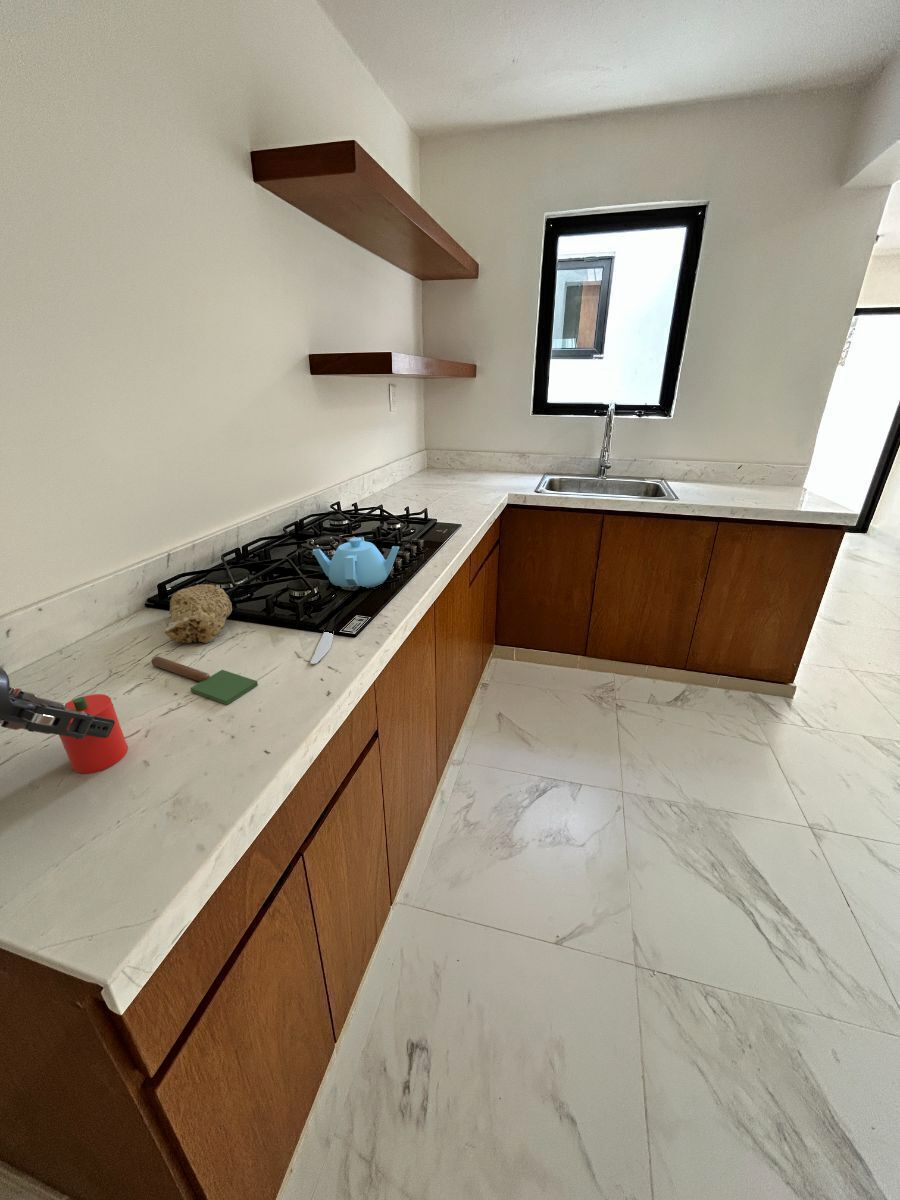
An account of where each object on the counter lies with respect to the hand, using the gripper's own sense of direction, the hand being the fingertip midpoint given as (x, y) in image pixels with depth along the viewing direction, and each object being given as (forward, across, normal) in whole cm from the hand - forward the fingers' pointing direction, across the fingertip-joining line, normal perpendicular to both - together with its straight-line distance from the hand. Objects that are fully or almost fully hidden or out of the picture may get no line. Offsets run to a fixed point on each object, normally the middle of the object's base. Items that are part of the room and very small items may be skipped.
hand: (86, 720), depth 62 cm
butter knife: (+33, -7, -25) cm, 42 cm away
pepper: (+4, 0, +4) cm, 6 cm away
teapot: (+50, +2, -41) cm, 65 cm away
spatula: (+17, +4, -9) cm, 20 cm away
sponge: (+28, +19, -20) cm, 39 cm away
